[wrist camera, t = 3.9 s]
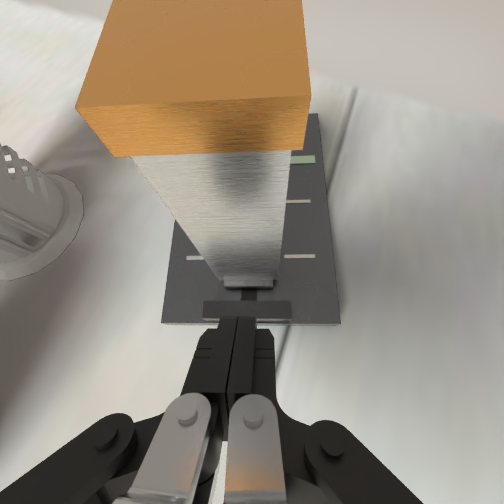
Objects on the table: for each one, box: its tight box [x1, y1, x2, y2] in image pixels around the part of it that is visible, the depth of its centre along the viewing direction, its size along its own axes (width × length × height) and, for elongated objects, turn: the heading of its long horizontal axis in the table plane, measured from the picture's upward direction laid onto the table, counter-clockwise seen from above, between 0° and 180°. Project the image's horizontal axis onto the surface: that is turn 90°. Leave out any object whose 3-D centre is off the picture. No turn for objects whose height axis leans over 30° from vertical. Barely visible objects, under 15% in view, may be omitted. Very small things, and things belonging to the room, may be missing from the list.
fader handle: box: [75, 0, 311, 289], centre depth 11 cm, size 4×4×13 cm
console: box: [161, 113, 341, 326], centre depth 18 cm, size 17×11×3 cm, turn 179°
